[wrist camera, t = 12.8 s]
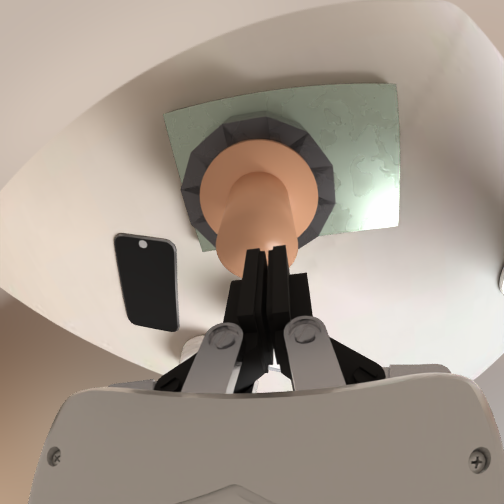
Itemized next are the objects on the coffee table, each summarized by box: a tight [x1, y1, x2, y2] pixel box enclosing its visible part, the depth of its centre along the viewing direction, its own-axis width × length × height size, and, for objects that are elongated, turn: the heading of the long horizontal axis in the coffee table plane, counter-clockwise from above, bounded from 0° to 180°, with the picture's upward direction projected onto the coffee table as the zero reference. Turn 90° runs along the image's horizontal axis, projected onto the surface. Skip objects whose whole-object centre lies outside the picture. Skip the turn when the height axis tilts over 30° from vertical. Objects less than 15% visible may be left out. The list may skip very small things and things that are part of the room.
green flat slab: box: [163, 83, 400, 252], centre depth 22 cm, size 20×14×6 cm
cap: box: [200, 139, 318, 278], centre depth 18 cm, size 8×8×10 cm
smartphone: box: [114, 233, 179, 332], centre depth 34 cm, size 8×1×15 cm
